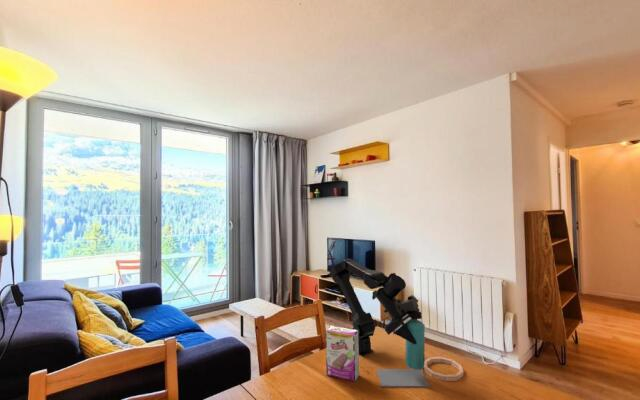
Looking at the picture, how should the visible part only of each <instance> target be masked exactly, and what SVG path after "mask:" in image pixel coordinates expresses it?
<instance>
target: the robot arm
mask: <svg viewBox="0 0 640 400" xmlns="http://www.w3.org/2000/svg"><path fill="white" fill-rule="evenodd" d="M351 273H352V274H353V275H354V276H356V277H358V278H360V279H361V280H362V281H363V284H364V285H365V286H366V287H367V288H368V289H370V290H374V289H376V290H374V291H372V295H371V297H372V298H371V299H372V300H373V301H374V300H375V299H377V301H378V302H379V303H380V304H381V306H382V307H383V309H384V310H383V312H384V313H385V314H387V313H388V315H389V316H390V317H391V320H390V322H389V323H387V324H386V325H385V326H384V331H385V332H386V335H388V336H389V335H391V334H393V335H396V336H398V337H400V338H402V339H404V340H405V341H406V340H407V341H409V342H411V343H413V344H414V345H415V344H416V343H417V342H416V340H415V338H414V337H413V335H412V334H411V332H410V331H409V329H408V325H407V322H408V321H409V320H412V319H413V318H411V317H409V315H410V311H413V310H416V311H420V312H421V310H420V308H419V307H420V306H419V299H417V297H415V295H409V296H407V299H406V300H404V301H403V300H402V299H400V298H399V299H397V298H396V297H398V295H399V294H400V293H401V292H403V291H404V290H405V288H406V287H407V282H406V281H405V279H403V277H401V276H399V275H397V274H396V272H391V273H389V275H388V276H387V275H386V274H385V273H384V272H382V271H378V270H373V269H369V268H368V267H365V266H364V265H362V264H360V263H358V262H357V261H355V260H354V259H352V258H347V259H343V260H342V261H341V262H339V263H337V264H335V265H334V266H331V268H330V270H329V275H330V277H331V279H332V280H333V282H334V283H336V284H337V285H338V286H339V287H340V290H341V292H342V294H343V296H344V299H345V300H346V303H347V305H348V308H349V310H350V312H351V316H352V326H353V327H352V329H354V330H358V342H359V356H361V357H364V356H367V355H368V354H370V353H371V354H372V353H374V349H372V343H371V337H373V336H374V333H375V330H376V324H375V320H374V318H373V317H372V314H371V312H366V311H364V309H363V306H362V304H361V302H360V301H359V298H358V296H357V295H356V292H355V289H354V287H353V285H352V284H351V281H350V280H351ZM414 320H418V319H414Z"/></svg>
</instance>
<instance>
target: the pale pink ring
mask: <svg viewBox="0 0 640 400" xmlns="http://www.w3.org/2000/svg"><path fill="white" fill-rule="evenodd" d="M424 361H425V362H424V364H425V365H424V368H423V371H424V372H425V373H426V374H427V375H429V376H430V377H431V378H434V379H437V380H439V381H444V382H454V381H455V382H456V381H459V380H460V379H462V378H463V377H464V369H463V367H462V365H461V364H460V363H458V362H457V361H455V360H454V359H451V358H446V357H443V356H442V357H441V356H435V357H434V356H433V357H428V358H427V359H424ZM433 363H434V364H435V363H442V364H447V365H449V366H450V365H451V366H453V367H454V368H455V369H457V370H458V372H456V373H455V374H442V373H439V372H435V371H433V370H432V369H431V368H429V367H428V366H429V365H431V364H433Z"/></svg>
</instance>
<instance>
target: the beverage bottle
mask: <svg viewBox="0 0 640 400" xmlns="http://www.w3.org/2000/svg"><path fill="white" fill-rule="evenodd" d="M409 317H411V318H413V319H412V320H409V321H408V322H407V325H408V329H409V331H410V332H411V334H412V335H413V337H414V338H415V340H416V342H417V343H416V344H415V345H414V344H413V343H411V342H409V341H407V340H406V339H405V355H404V357H405V359H404V360H405V365H406V367H408V368H409V369H416V370H424V365H425V364H424V362H425V350H426V349H425V347H426V345H425V341H426V339H425V333H426V332H425V331H426V330H425V328H426V326H425V324H424V322H422V321H421V320H422V318H423V317H422V311H421V310H420V311H416V310H413V311H410V315H409ZM414 319H417V320H414Z"/></svg>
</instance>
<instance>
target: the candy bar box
mask: <svg viewBox="0 0 640 400" xmlns="http://www.w3.org/2000/svg"><path fill="white" fill-rule="evenodd" d="M325 359H326V362H325V363H326V364H325V365H326V366H325V367H326V370H325V371H326V375H327V376H329V377H334V378H338V379H343V380H345V381H351V382H356V381H357V380H358V377H359V376H360V355H359V342H358V330H354V329H351V328H346V327H341V326H336V325H329V326H328V327H327V328H326V329H325Z"/></svg>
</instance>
